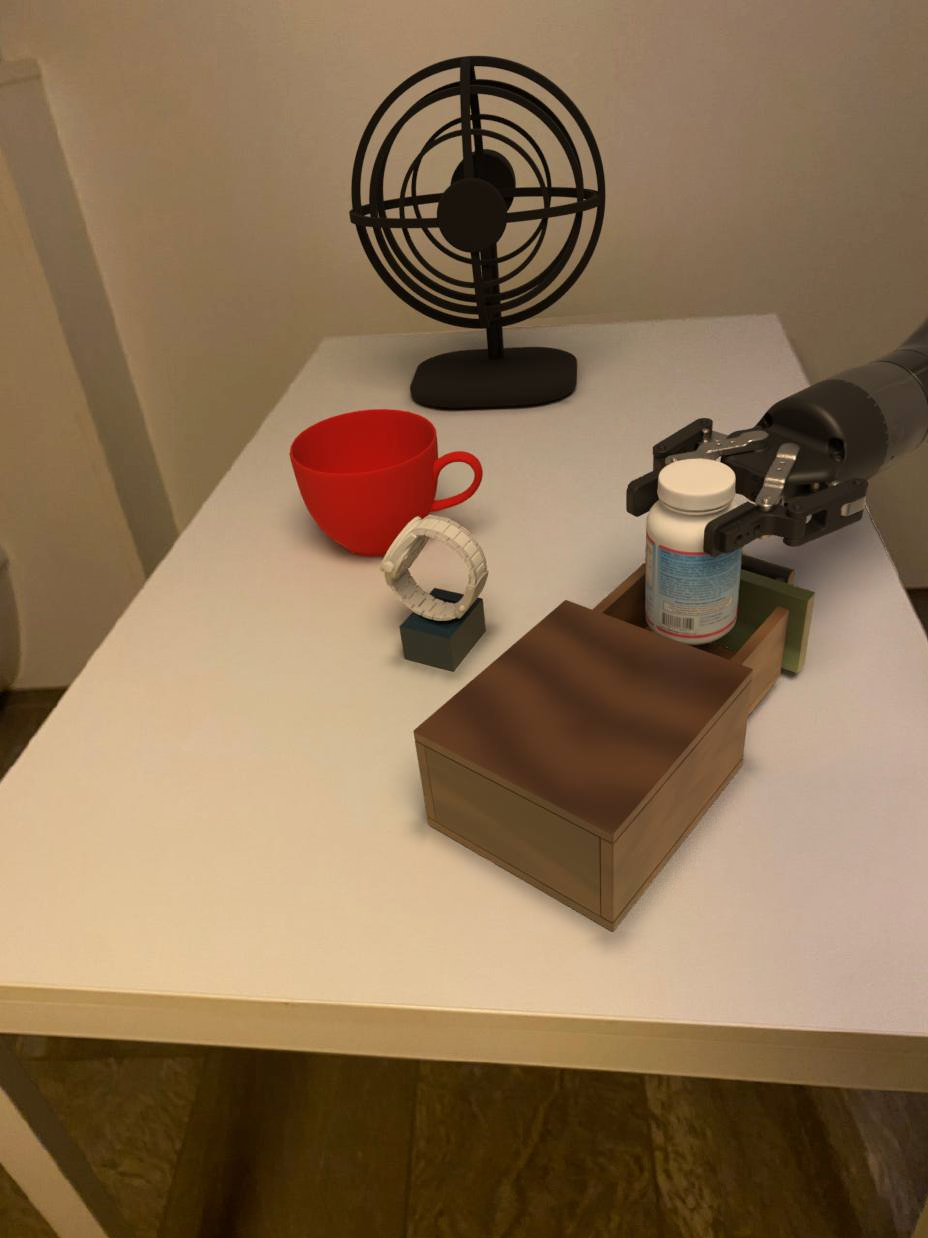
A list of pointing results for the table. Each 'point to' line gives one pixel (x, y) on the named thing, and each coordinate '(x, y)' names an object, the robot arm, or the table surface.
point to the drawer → (742, 620)
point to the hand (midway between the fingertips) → (667, 520)
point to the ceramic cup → (373, 475)
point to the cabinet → (585, 756)
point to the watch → (437, 595)
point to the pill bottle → (690, 555)
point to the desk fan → (481, 238)
